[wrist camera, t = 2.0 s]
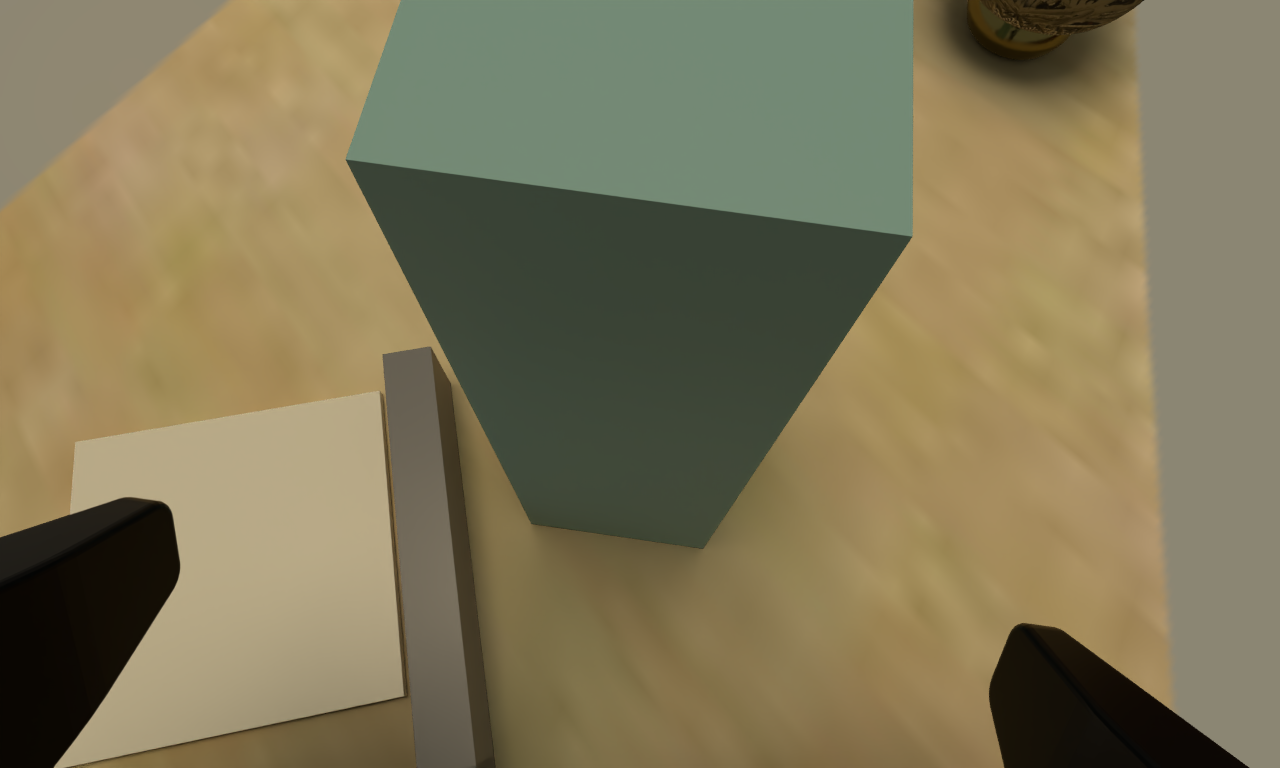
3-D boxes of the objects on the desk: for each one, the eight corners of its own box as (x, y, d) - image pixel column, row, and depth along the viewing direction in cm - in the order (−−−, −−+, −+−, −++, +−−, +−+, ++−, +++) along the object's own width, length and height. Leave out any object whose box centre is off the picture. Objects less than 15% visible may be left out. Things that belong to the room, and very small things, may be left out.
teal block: (703, 549, 20) (912, 237, 6) (531, 523, 20) (345, 159, 6) (720, 382, 22) (914, -158, 8) (562, 360, 22) (475, -211, 8)
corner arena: (500, 810, 18) (482, 830, 15) (49, 913, 16) (-44, 952, 14) (450, 382, 21) (430, 346, 19) (82, 445, 20) (14, 414, 18)
